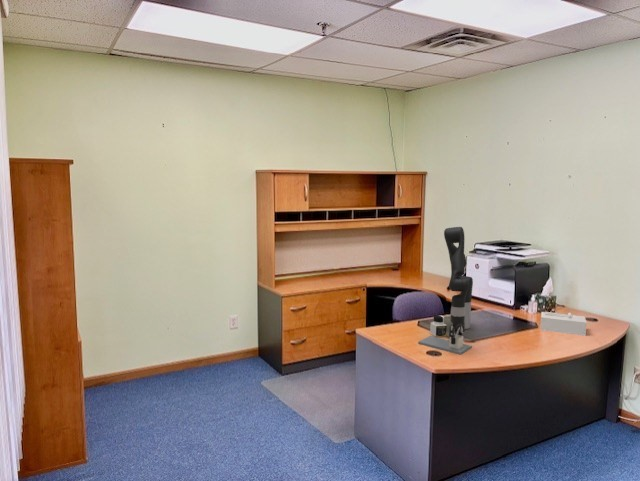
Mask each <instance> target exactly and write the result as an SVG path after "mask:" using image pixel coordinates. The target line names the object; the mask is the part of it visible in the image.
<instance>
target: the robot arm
mask: <svg viewBox="0 0 640 481" xmlns="http://www.w3.org/2000/svg"><path fill="white" fill-rule="evenodd" d="M443 236H444V241H445V244H446V247H447V250H448V255H449V261H450V268H451V269H450V270H451V274H450V275H451V276H450V280H449V283H448V288H449V290H451V292H460V293H458V294H454V295H453V296H451V307H450V322H451V323H452V326H451V325H449V330H448V332H449V334H448V338H450V337H451V344H455V337H456V335H461V336H463V334H464V333H465V330H468V329H470V328H471V313H472V311H471V310H472V295H473V282H474V280H473V277H472V276H467V275H465V268H466V266H467V258H466V255H465V230H464V227H462V226H455V227H454V226H453V227H448V228H444V230H443ZM455 244H458V246H456V245H455ZM454 334H455V335H454Z"/></svg>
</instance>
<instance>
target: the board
mask: <svg viewBox="0 0 640 481" xmlns="http://www.w3.org/2000/svg"><path fill="white" fill-rule="evenodd" d="M449 342H450V339H445V338H441V337H435V336H433V335H429V336H427V337H425V338H423V339H420V340H419V341H418V342H417V343H418V344H419V345H422V346H426V347H430V348H433V349H437V350H441V351H445V352H449V353H453V354H456V355H463V354H465V353H466V352H468V351H469V350H471V349H472V348H473V345H469V344H466V343H463V347H461V348H460V349H456V348H452V347H449Z"/></svg>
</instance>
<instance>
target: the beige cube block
mask: <svg viewBox="0 0 640 481" xmlns="http://www.w3.org/2000/svg"><path fill="white" fill-rule="evenodd" d="M454 335H455V334H454ZM464 338H465V336H463V335H462V336H461V335H458V334H457V335H456V337H455V344H451V337H449V340H450V342H449V347H452V348H456V349H460V348H461V347H463V344H464Z"/></svg>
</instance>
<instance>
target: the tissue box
mask: <svg viewBox="0 0 640 481" xmlns="http://www.w3.org/2000/svg"><path fill="white" fill-rule="evenodd" d="M587 325H588V324H587V319H586V317H585V316H583V315H574V314H572V312H568V313H567V314H566V313H559V312H558V313H557V312H549V311H541V316H540V331H544V332H553V333H561V334H569V335H576V336H586V334H587Z"/></svg>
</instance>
